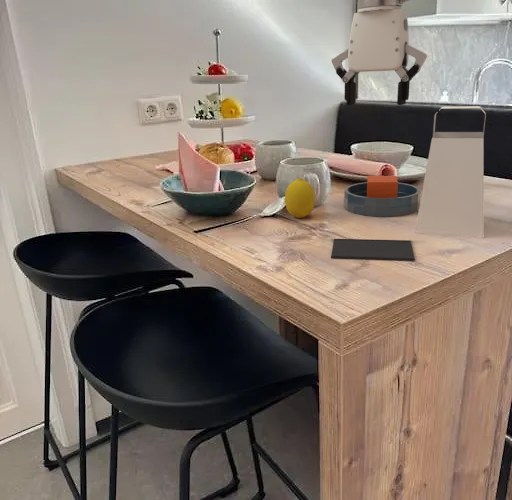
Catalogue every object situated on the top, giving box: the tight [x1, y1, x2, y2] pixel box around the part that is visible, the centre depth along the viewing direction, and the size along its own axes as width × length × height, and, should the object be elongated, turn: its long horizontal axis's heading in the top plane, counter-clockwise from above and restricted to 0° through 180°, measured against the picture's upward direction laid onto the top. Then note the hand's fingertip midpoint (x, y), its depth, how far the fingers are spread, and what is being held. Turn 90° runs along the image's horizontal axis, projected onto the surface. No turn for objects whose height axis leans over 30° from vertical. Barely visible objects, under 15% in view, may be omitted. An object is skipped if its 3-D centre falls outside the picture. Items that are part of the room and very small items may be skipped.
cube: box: [366, 175, 399, 198], centre depth 97 cm, size 6×6×6 cm
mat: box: [330, 238, 416, 262], centre depth 77 cm, size 12×9×1 cm
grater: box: [414, 105, 487, 239], centre depth 82 cm, size 10×10×20 cm
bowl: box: [343, 181, 422, 218], centre depth 98 cm, size 14×14×4 cm
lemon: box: [284, 177, 316, 219], centre depth 93 cm, size 6×6×8 cm
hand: (375, 104), depth 93 cm, fingers open, 9 cm apart
